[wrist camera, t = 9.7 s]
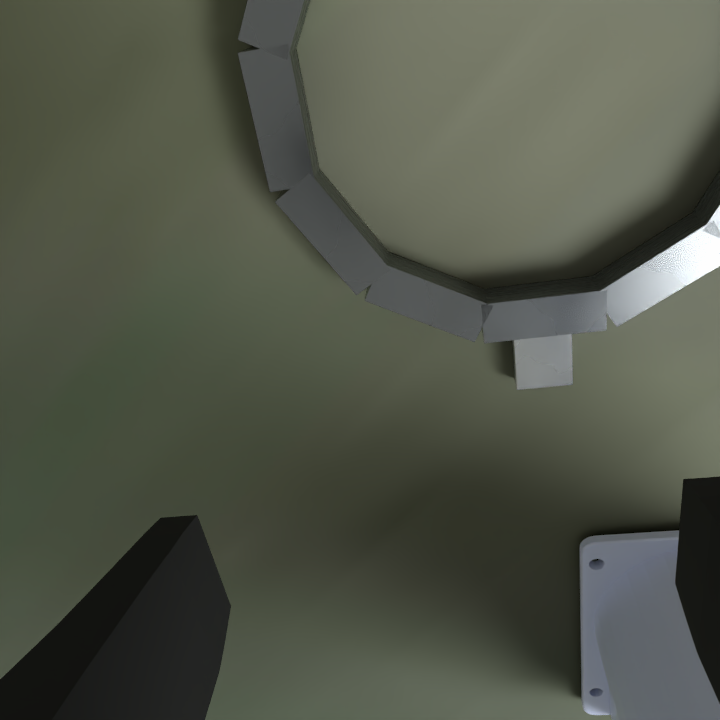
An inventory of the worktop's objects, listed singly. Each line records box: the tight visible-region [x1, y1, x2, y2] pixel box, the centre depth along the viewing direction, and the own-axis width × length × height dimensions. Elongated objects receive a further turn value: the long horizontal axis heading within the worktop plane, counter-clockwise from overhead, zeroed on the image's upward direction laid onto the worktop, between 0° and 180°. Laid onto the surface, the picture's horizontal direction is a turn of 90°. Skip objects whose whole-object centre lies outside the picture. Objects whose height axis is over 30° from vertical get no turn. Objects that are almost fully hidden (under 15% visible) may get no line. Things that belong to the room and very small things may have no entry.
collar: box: [238, 0, 720, 390], centre depth 16 cm, size 17×13×1 cm
